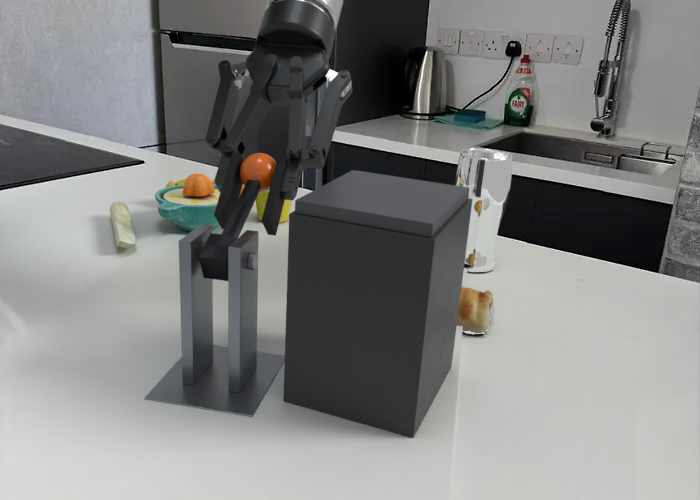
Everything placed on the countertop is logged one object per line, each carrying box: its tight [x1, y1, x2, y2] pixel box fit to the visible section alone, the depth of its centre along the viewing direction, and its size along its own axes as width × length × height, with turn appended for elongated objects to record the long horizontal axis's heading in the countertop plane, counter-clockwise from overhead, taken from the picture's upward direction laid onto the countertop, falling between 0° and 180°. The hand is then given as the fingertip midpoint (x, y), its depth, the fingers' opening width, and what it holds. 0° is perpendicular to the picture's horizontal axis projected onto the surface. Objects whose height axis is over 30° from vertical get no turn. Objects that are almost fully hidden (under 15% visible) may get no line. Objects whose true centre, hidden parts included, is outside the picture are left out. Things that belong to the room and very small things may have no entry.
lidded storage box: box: [283, 169, 472, 439], centre depth 56 cm, size 12×12×18 cm
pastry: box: [457, 286, 495, 333], centre depth 74 cm, size 9×7×4 cm
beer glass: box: [454, 147, 514, 270], centre depth 88 cm, size 7×7×15 cm
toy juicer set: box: [109, 172, 293, 248], centre depth 99 cm, size 29×18×8 cm, turn 132°
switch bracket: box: [144, 225, 285, 418], centre depth 56 cm, size 10×9×14 cm
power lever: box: [198, 152, 277, 282], centre depth 58 cm, size 14×4×4 cm, turn 169°
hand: (245, 224), depth 60 cm, fingers closed on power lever, 4 cm apart
